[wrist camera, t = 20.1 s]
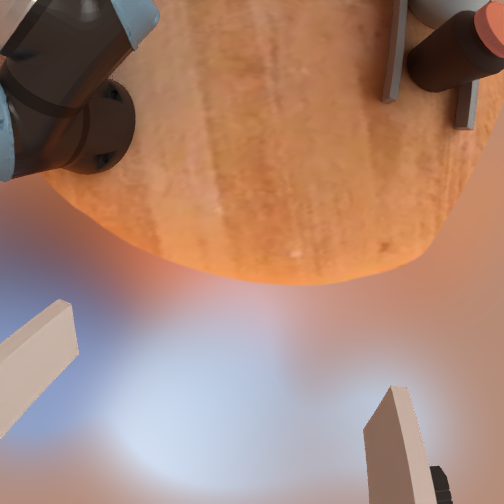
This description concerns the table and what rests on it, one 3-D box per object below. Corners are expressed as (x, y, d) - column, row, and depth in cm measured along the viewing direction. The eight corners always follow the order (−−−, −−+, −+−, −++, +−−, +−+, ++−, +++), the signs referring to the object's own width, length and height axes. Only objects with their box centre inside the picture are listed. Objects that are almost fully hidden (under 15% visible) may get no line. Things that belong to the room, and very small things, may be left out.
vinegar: (457, 83, 30) (547, 57, 12) (422, 100, 32) (507, 73, 14) (432, 41, 29) (506, -12, 10) (396, 56, 31) (460, -3, 12)
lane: (381, 101, 34) (404, 88, 24) (395, -51, 24) (410, -85, 14) (459, 130, 32) (498, 129, 23) (465, -22, 23) (491, -47, 13)
